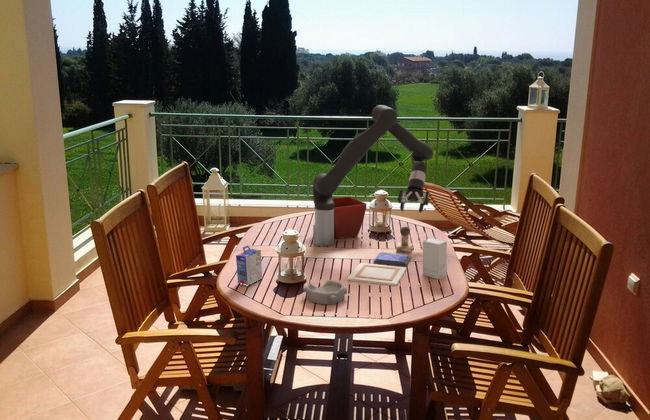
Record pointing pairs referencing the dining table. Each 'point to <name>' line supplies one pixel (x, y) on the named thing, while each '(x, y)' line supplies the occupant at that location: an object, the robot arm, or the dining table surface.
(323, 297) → the dish
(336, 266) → the dining table surface
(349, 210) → the plant pot
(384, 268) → the marked board
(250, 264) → the ink cartridge box
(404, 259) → the ink pad
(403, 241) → the rubber stamp
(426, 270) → the skincare box
